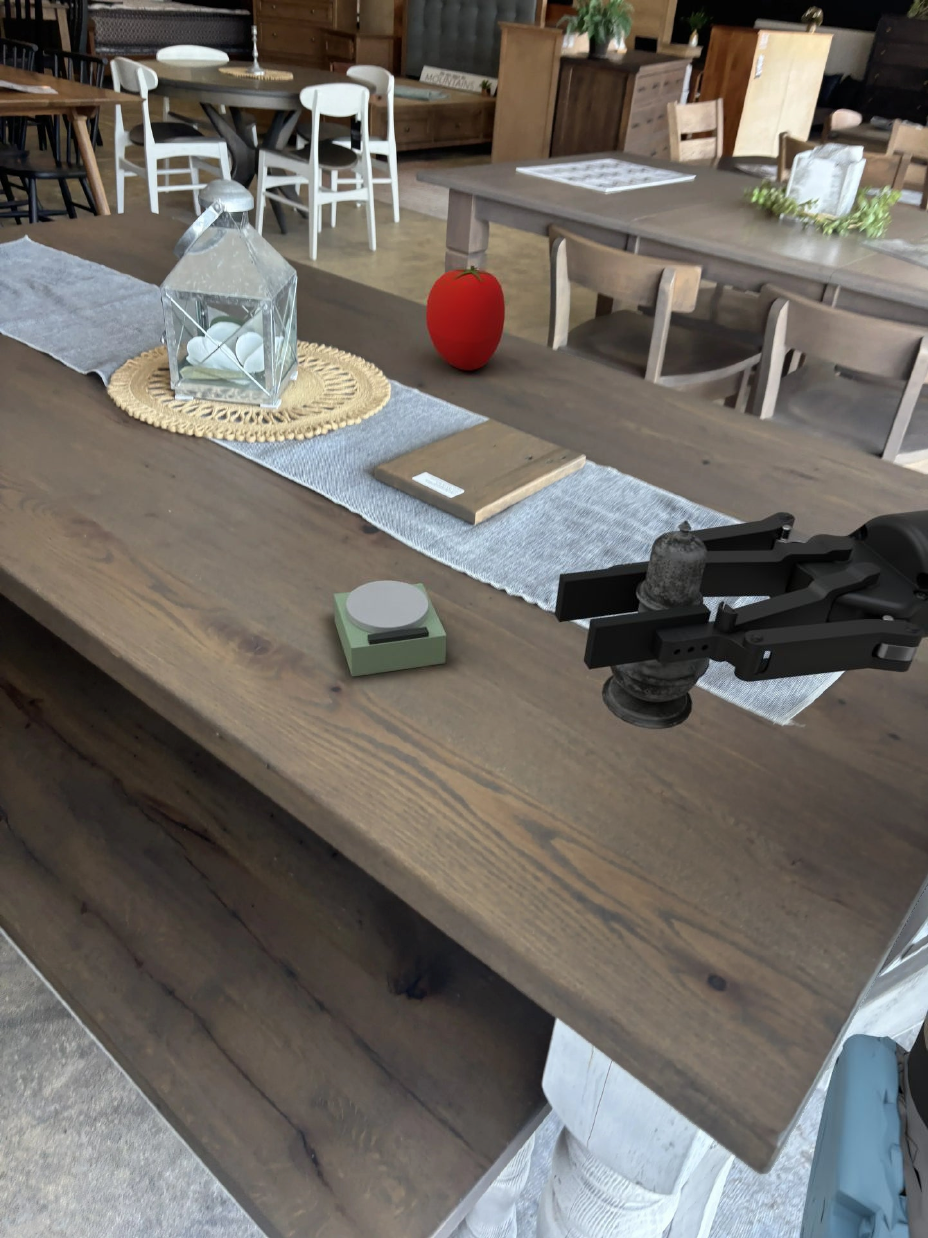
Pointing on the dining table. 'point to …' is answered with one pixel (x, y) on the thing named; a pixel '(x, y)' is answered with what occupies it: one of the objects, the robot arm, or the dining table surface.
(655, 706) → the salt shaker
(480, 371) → the dining table surface
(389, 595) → the scale
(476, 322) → the tomato
